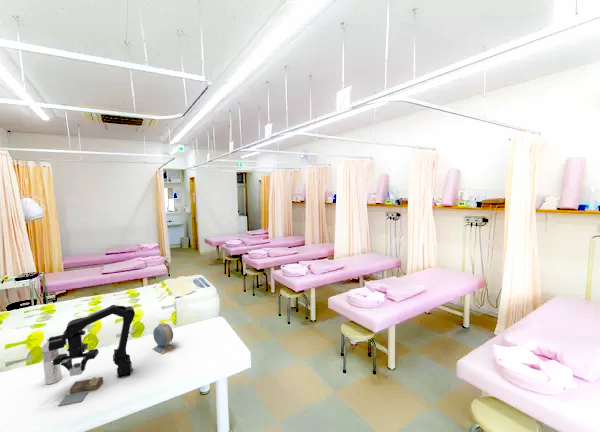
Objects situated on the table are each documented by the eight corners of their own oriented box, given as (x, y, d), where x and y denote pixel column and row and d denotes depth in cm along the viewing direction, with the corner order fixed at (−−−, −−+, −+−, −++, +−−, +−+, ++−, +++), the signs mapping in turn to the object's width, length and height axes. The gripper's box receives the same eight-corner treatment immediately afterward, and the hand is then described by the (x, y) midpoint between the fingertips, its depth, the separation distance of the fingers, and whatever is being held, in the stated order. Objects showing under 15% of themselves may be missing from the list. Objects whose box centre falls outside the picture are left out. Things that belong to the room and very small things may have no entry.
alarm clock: (176, 347, 188) (175, 323, 186) (163, 355, 180) (161, 329, 178) (164, 342, 195) (163, 318, 194) (151, 348, 187) (149, 324, 186)
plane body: (103, 381, 155) (102, 376, 155) (98, 389, 149) (98, 383, 149) (75, 386, 151) (75, 381, 151) (70, 394, 146) (69, 389, 145)
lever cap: (85, 368, 152) (84, 360, 151) (81, 374, 147) (80, 366, 146) (74, 370, 150) (73, 362, 150) (70, 376, 145) (69, 368, 145)
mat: (88, 391, 147) (88, 390, 147) (81, 401, 140) (81, 400, 140) (66, 396, 145) (66, 394, 144) (58, 406, 137) (58, 405, 137)
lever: (98, 381, 151) (98, 375, 150) (96, 385, 148) (95, 379, 148) (92, 382, 150) (91, 376, 150) (89, 386, 147) (89, 380, 147)
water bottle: (48, 386, 152) (43, 343, 150) (43, 382, 156) (39, 340, 153) (63, 379, 158) (59, 337, 156) (59, 375, 161) (54, 334, 159)
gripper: (101, 333, 157) (103, 359, 159) (62, 339, 152) (65, 365, 153) (92, 344, 147) (95, 371, 148) (50, 350, 141) (53, 378, 143)
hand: (77, 371), depth 148 cm, fingers closed on lever cap, 5 cm apart
